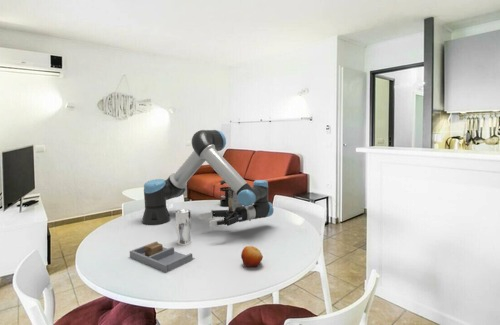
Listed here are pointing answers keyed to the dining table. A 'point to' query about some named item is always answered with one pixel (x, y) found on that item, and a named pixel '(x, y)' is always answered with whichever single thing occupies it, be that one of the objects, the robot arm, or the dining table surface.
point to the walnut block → (153, 249)
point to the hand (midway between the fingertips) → (204, 220)
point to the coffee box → (233, 200)
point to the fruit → (251, 256)
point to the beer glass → (183, 226)
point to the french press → (225, 201)
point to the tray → (161, 258)
